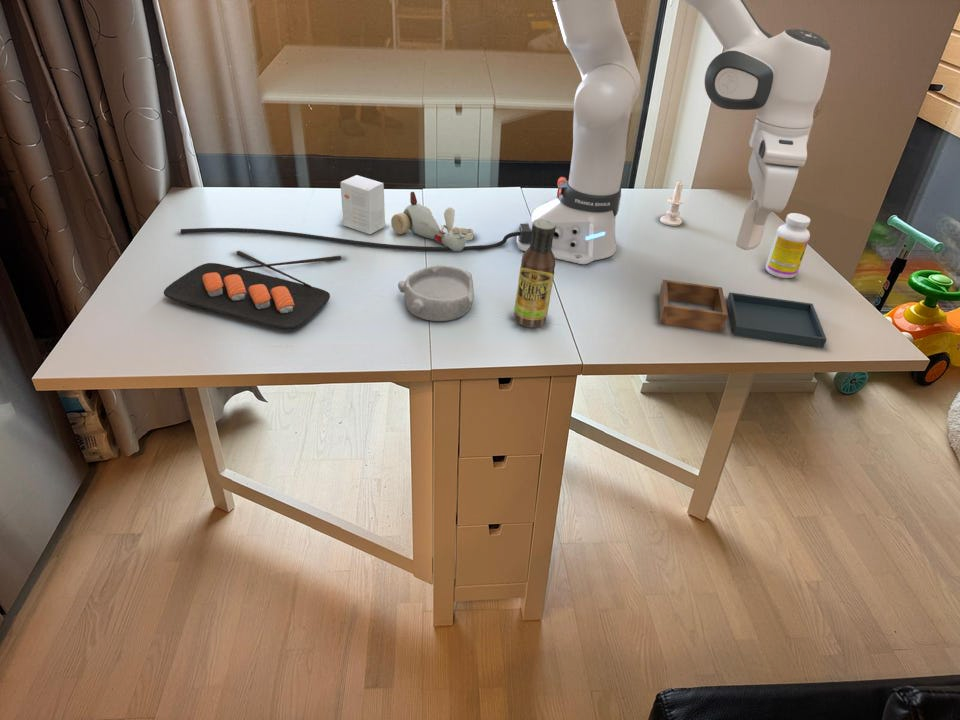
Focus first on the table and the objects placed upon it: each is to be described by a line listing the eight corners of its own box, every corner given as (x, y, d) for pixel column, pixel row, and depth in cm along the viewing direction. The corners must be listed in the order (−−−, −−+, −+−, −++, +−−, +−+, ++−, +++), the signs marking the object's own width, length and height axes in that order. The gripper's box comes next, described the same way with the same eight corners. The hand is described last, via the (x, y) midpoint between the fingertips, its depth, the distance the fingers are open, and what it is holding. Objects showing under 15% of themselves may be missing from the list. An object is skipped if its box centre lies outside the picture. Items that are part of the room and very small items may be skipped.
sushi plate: (157, 302, 132) (153, 284, 130) (253, 237, 156) (251, 221, 153) (295, 339, 125) (293, 321, 123) (374, 266, 148) (373, 249, 146)
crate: (660, 323, 137) (664, 305, 134) (658, 296, 145) (662, 279, 143) (722, 332, 135) (727, 314, 133) (717, 304, 144) (722, 287, 141)
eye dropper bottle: (768, 248, 129) (787, 185, 122) (740, 251, 128) (759, 187, 121) (754, 238, 133) (772, 175, 126) (727, 240, 131) (744, 177, 124)
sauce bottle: (510, 326, 133) (519, 227, 121) (517, 309, 138) (527, 212, 126) (543, 332, 132) (557, 233, 120) (550, 316, 137) (563, 218, 125)
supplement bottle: (798, 281, 154) (818, 226, 147) (766, 276, 155) (784, 221, 148) (793, 267, 159) (812, 213, 152) (763, 263, 160) (780, 209, 153)
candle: (681, 218, 178) (691, 178, 172) (681, 227, 174) (691, 186, 167) (660, 215, 178) (669, 175, 172) (660, 224, 174) (669, 183, 168)
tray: (733, 335, 135) (736, 326, 134) (726, 300, 145) (729, 292, 144) (823, 348, 133) (826, 339, 132) (809, 312, 144) (812, 303, 142)
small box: (385, 227, 164) (384, 183, 158) (369, 235, 160) (368, 190, 154) (358, 217, 167) (356, 174, 161) (342, 225, 163) (339, 181, 157)
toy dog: (459, 257, 154) (461, 218, 149) (381, 239, 159) (380, 201, 153) (479, 235, 163) (482, 198, 158) (405, 218, 168) (405, 182, 163)
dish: (467, 284, 144) (469, 262, 142) (482, 321, 134) (484, 298, 131) (395, 288, 141) (395, 266, 139) (405, 326, 131) (405, 303, 128)
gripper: (751, 118, 128) (732, 192, 136) (767, 155, 111) (744, 237, 119) (788, 121, 127) (767, 195, 135) (809, 160, 110) (783, 242, 118)
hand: (756, 215), depth 127 cm, fingers closed on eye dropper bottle, 5 cm apart
